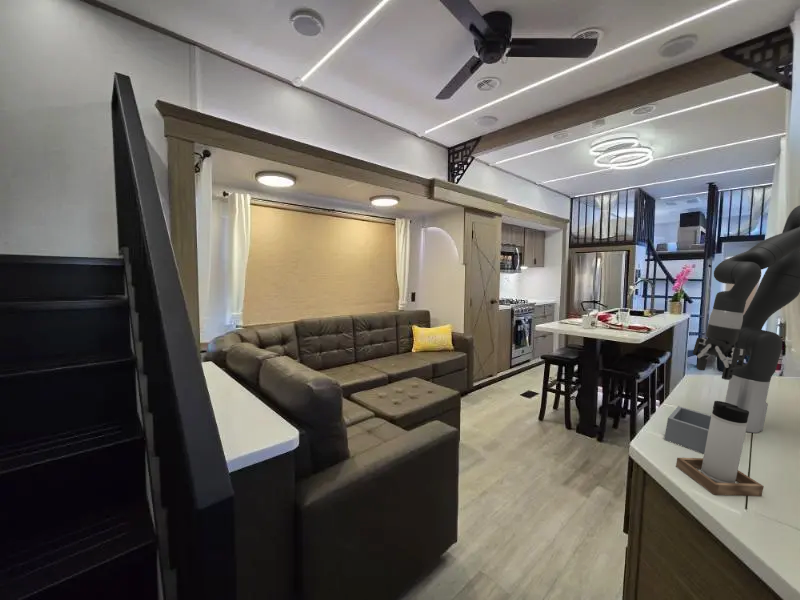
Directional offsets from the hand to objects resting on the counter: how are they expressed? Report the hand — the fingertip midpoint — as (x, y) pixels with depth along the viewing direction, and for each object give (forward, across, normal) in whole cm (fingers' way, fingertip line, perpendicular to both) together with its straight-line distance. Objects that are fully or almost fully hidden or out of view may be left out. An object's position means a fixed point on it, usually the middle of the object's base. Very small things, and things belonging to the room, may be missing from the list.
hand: (712, 374), depth 109 cm
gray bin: (+19, -9, +9) cm, 23 cm away
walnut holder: (+19, -27, +21) cm, 39 cm away
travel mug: (+20, -27, +21) cm, 39 cm away
